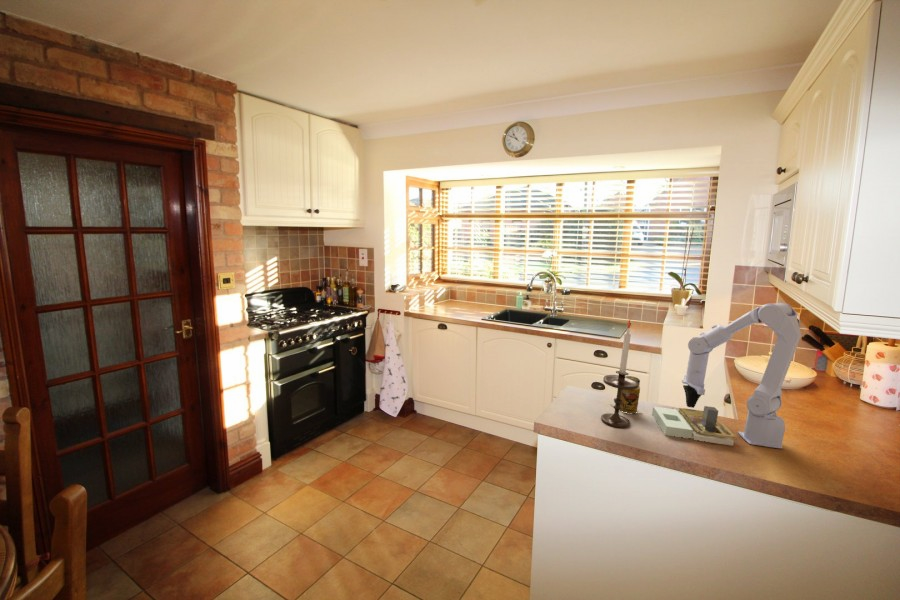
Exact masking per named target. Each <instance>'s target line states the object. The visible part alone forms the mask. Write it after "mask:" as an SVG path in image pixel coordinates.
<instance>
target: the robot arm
mask: <svg viewBox="0 0 900 600" xmlns="http://www.w3.org/2000/svg"><path fill="white" fill-rule="evenodd" d="M761 323H763V324H764V325H765V326H767V327H768V328H770V329H771V330H772V331H773V332H774V334H775V335H776V336H777V337H776V340H775V341H776V342H774V347H773V348H772V352H771V355H770V357H769V360H768V362H767V364H766V367H765V370H764V374H763V375H762V378H761V381H760V384H759V385H758V386H757V387H756V388H755V390H754V392H753V394H752V395H751V396H749V398H748V397H747V400H746V408H747V410H748V411H747V414H746V415H747V417H746V420H745V426H744V431H737V434H738V435H739V436H741V438H742V439H744V440H745V442H747V444H749V445H754V446H760V447H769V448H775V449H780V450H781V449H783V448H784V447H783V446H782V445H783V441H784V435H785V431H786V423H785V420H784V418H782V417H781V416H778V415H777V411H778V410H780V409H781V407H782V405H783V402H782V394H783V391H782V386H783V383H784V382H785V379H786V376H787V373H788V371H789V368H790V366H791V363H792V361H793V358H794V355H795V354H796V350H797V348H798V345H799V342H800V341H801V338H802V332H801V328H800V323H799V321H798V312H797V311H796V310H795V309H794V308H793V307H792V305H790V304H789V303H786V302H782V301H781V302H775V303H765V304H763V305H760V306H759V307H755V308H754V309H751V310H750V311H748V312H747V313H745V314H743V315H741V316H740V317H738V318H736V319H735V320H733V321H732V322H730V323H728V324H726V325H722V324H719V325H717V324H715V325H712V326H711V329H710V330H707V331H706V332H701V333H700V334H699V335H700V336H695V337H692V338H691V339H690V340H689V341H688V343H687V348H688V349H689V357H688V361H687V367H686V368H687V369H686V375H685V374H684V378H683V379H681V383H682V386H683V390H684V393H685V401H686V402H685V403H686V407H687V408H691V409H693V408H695V406H696V405H697V403H698V401H699V398H700V397H701V396H705V393H706V389H705V377H706V374H707V373H706V372H707V368H708V367H707V366H708V361H709V356H710V355H709V354H710V353H711V352H712V351H713V350H714V349H715V348H718V347H719V346H721V345H723V344H725V343H727V342H728V341H730V340H731V339H732V338H733V334H735V333H737V332H740V331H741V330H743V329H745V328H747V327H750V326H752V325H754V324H761Z"/></svg>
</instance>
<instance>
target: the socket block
mask: <svg viewBox="0 0 900 600" xmlns="http://www.w3.org/2000/svg"><path fill="white" fill-rule="evenodd" d="M685 421H686V420H685ZM686 422H687V421H686ZM687 423H688V422H687ZM688 425H689V426H690V424H689V423H688ZM716 425H717V426H718V427H719V428H720V429H721V430H722V431H723V432H724V433H725V434H726V435H729V434H728V433H727V432H726V431H725V430H724V429H723V428H722V427H721V426H720V425H719V424H716ZM690 427H691V426H690ZM691 428H692V427H691ZM692 430H693V432H692V437H693V438H694V439H693V438H692V439H693V441H697V440H699V441H698V442H704V441H705V442H706V443H713V444H719V445H724V446H725V445H726V446H731V447H733V446H734V443H735V441H734V439H732V438H725V437H718V436H711V435H704V434H697V433H696V432H695V431H694V429H693V428H692Z"/></svg>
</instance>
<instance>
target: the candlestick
mask: <svg viewBox="0 0 900 600" xmlns="http://www.w3.org/2000/svg"><path fill="white" fill-rule="evenodd" d="M627 323H628V324H627V328H626V332H624V336H623V341H622V342H623V343H622V350H621V358H620V364H619V370H616V371H615V373H616V374H607V375H604V377H603V380H602V381H603V383H604V384H606V385H607V386H608V387H612V388H614V389H617V391H616V392H617V393H616V397H615V398H614V399H613V403H614V404H615V406H612V407H613V409H614V413H610V412H609V413H603V414H602V415H601V417H600V420H601V422H602V423H604V424H605V425H606V426H610V427H613V428H616V429H627V428H630V426H631V420H630V419H629V418H627V417H625V416H623V415H620V411H619V410H620V409H621V407H620V404H622V402H623V400H622V399H621V394H622V389H624V390H635V389H638V387H640V385H639V384H640V383H638V382H637V381H636V380H634V379H631V378H628V377H626V376H630V374H629V372H626V371H627V365H628V356H629V351H630V342H631V335H632V333H631V332H630V327H631V319H629V320H628V321H627Z"/></svg>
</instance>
